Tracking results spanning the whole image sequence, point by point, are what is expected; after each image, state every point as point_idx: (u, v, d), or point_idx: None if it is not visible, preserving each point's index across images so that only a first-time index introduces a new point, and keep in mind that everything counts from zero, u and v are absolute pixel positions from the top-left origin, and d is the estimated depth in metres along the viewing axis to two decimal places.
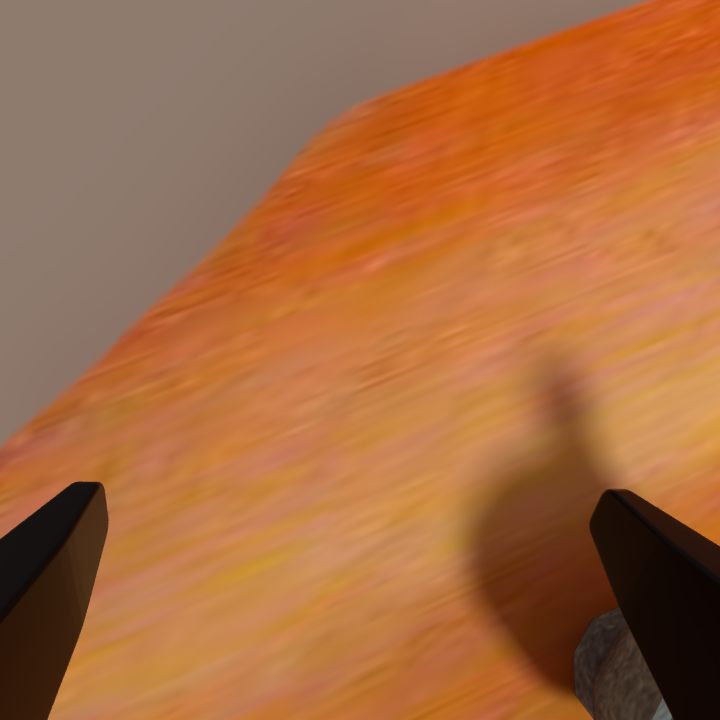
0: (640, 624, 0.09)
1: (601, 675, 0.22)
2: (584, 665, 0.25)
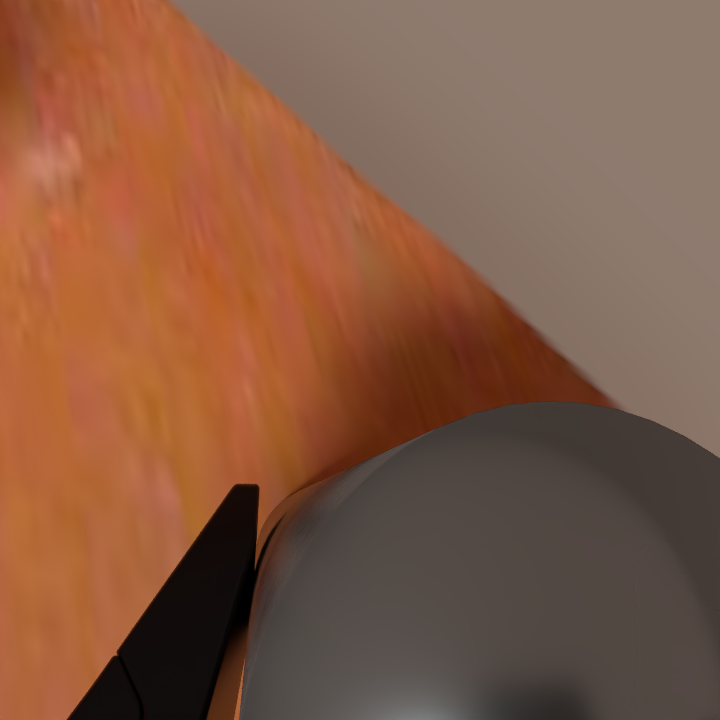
0: None
1: None
2: None
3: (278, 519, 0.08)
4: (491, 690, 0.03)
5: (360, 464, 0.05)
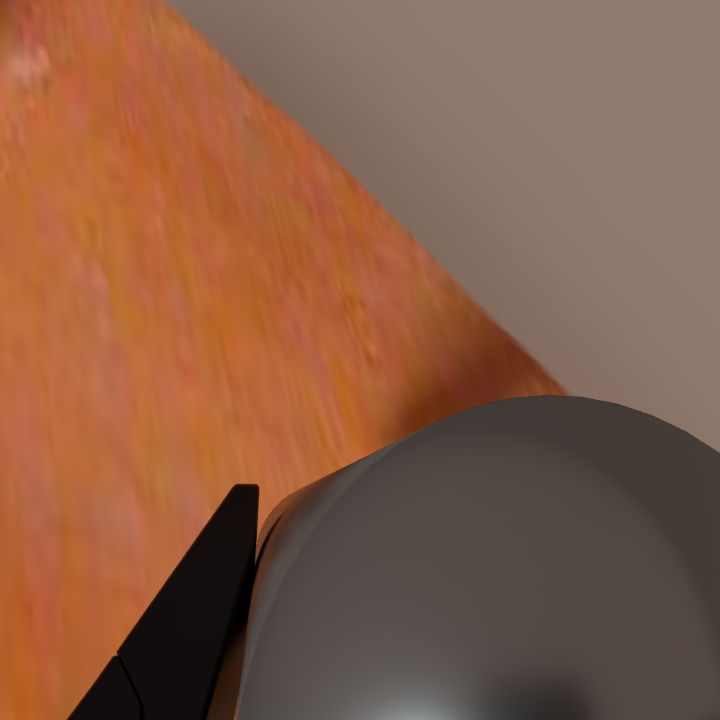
0: None
1: None
2: None
3: (278, 517, 0.08)
4: (490, 685, 0.03)
5: (359, 460, 0.05)
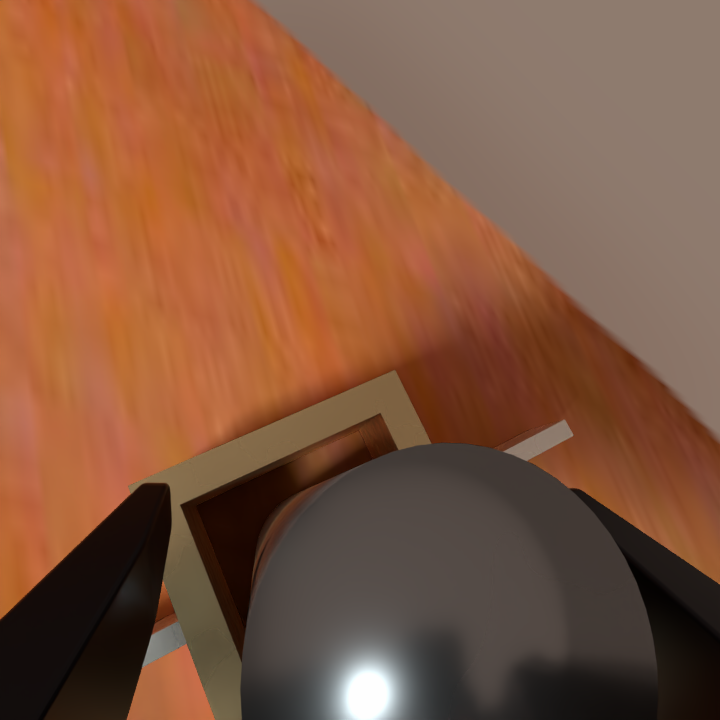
0: None
1: None
2: None
3: (274, 519, 0.10)
4: (397, 623, 0.05)
5: (330, 479, 0.07)
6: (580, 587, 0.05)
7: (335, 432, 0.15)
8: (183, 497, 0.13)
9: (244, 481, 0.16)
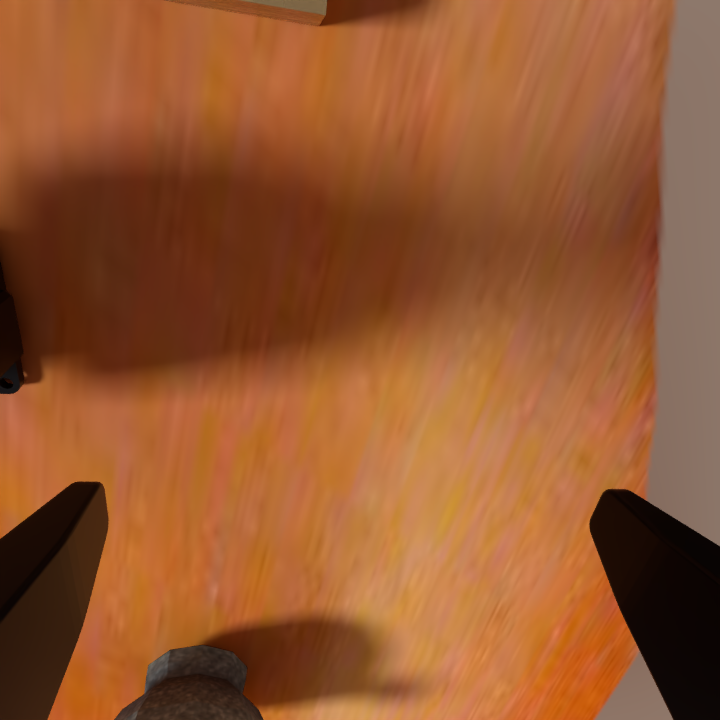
0: (640, 624, 0.09)
1: (247, 706, 0.29)
2: (228, 665, 0.31)
3: None
4: None
5: None
6: None
7: None
8: None
9: None
